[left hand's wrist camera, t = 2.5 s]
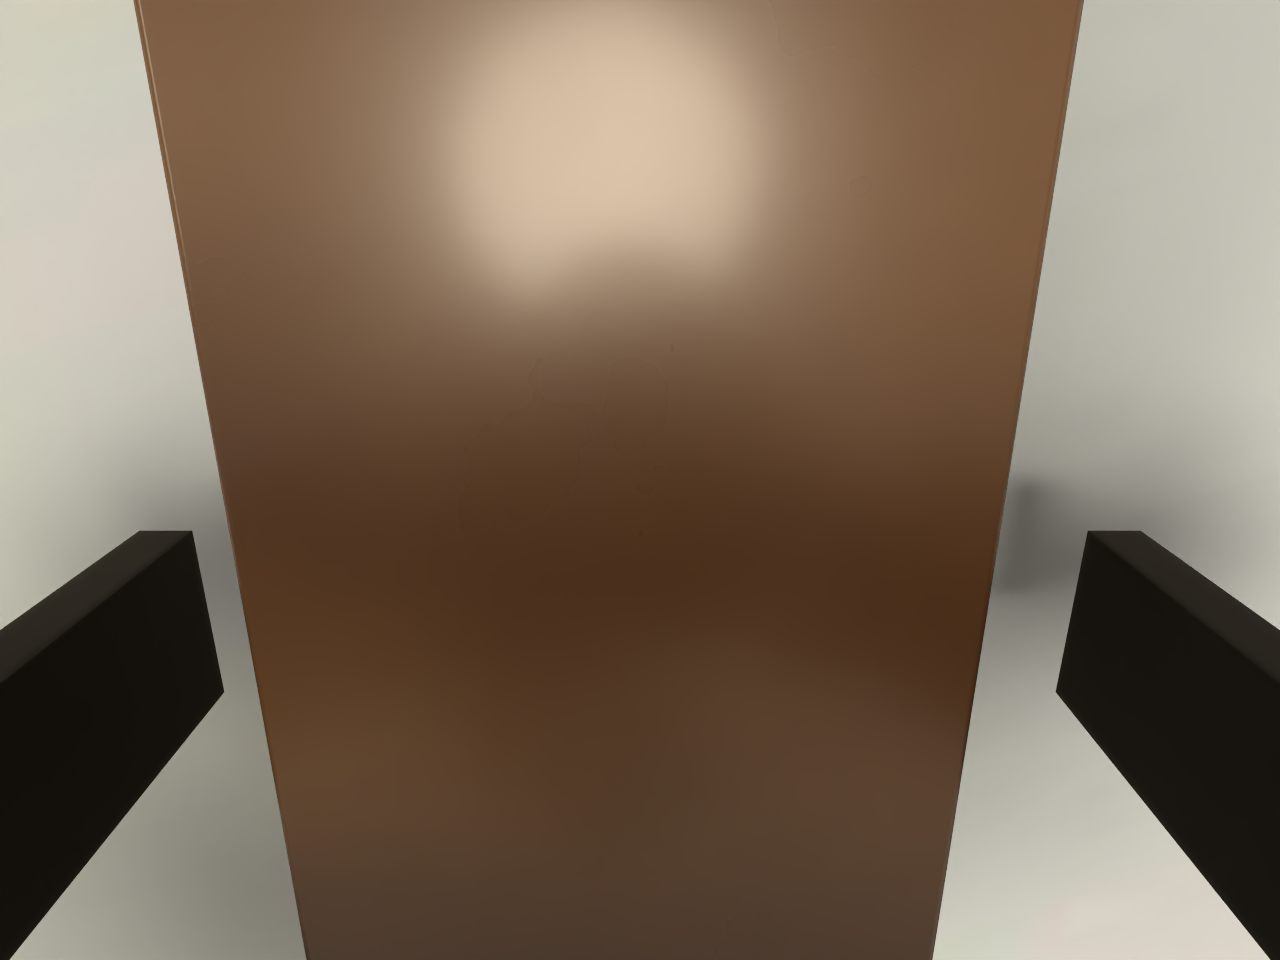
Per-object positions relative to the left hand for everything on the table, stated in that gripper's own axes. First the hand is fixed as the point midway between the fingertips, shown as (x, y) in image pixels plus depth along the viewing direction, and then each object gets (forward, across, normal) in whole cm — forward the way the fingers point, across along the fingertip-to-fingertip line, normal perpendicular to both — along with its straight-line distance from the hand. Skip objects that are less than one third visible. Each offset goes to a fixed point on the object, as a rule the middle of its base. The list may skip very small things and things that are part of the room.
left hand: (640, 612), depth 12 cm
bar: (+3, 0, -31) cm, 31 cm away
